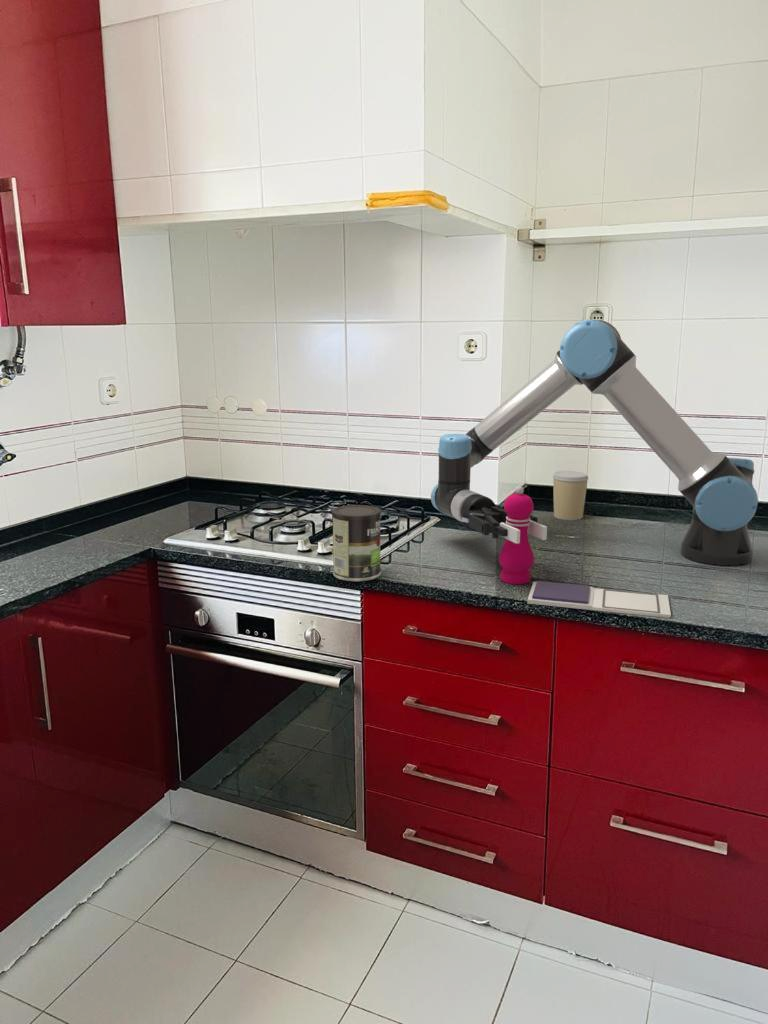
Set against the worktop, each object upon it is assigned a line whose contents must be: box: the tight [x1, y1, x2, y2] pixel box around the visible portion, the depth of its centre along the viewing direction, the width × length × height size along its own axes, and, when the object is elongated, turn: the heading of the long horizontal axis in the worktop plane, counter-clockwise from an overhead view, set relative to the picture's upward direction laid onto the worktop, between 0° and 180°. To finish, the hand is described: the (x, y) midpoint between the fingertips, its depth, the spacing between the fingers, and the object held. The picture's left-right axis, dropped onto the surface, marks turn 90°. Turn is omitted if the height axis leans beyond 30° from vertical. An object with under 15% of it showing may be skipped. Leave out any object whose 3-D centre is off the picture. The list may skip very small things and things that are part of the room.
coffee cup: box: [552, 470, 589, 521], centre depth 215 cm, size 9×9×12 cm
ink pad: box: [527, 580, 595, 611], centre depth 154 cm, size 12×11×1 cm
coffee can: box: [331, 504, 382, 582], centre depth 166 cm, size 10×10×14 cm
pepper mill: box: [498, 485, 535, 585], centre depth 162 cm, size 7×7×20 cm
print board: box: [591, 587, 672, 619], centre depth 151 cm, size 14×11×1 cm
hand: (531, 535), depth 157 cm, fingers open, 6 cm apart
